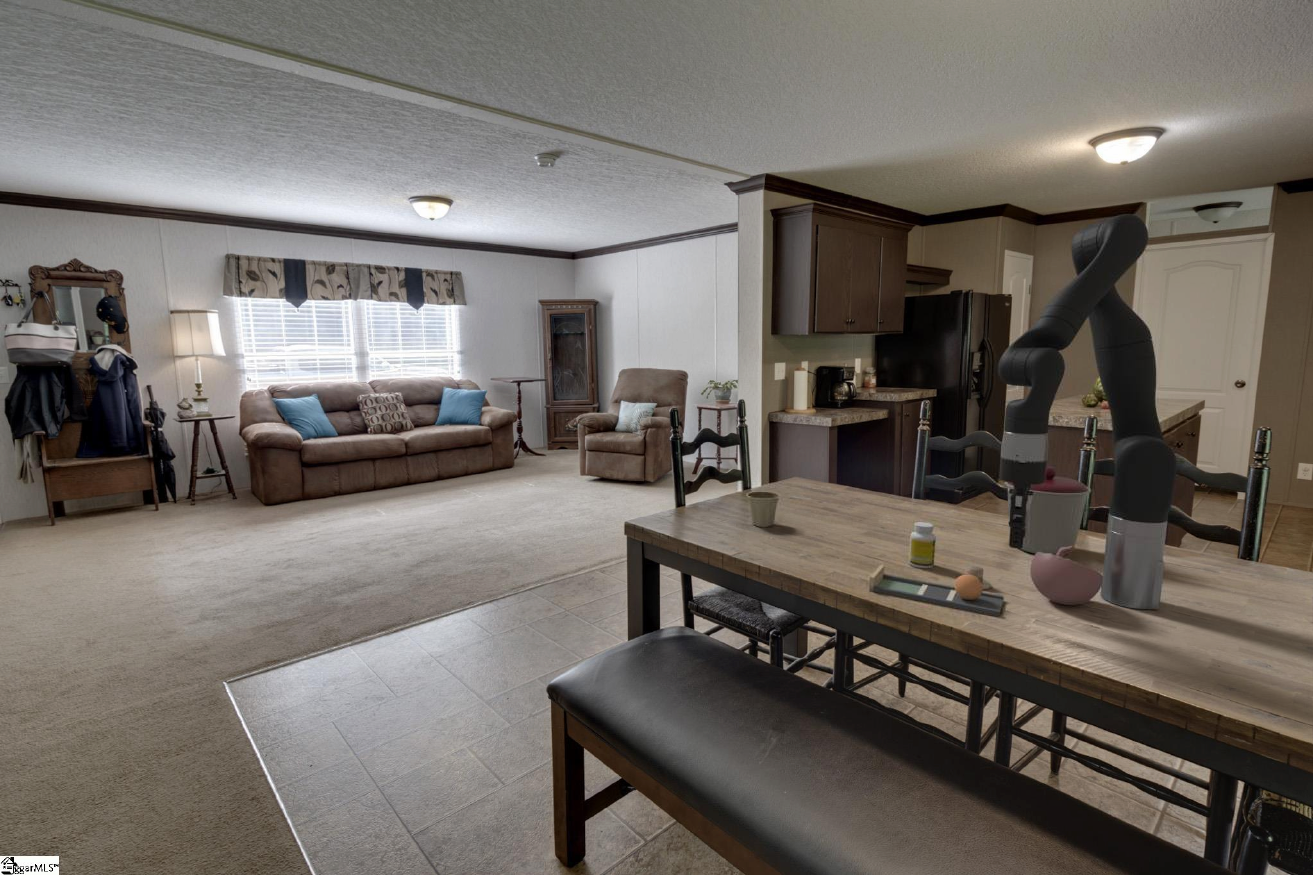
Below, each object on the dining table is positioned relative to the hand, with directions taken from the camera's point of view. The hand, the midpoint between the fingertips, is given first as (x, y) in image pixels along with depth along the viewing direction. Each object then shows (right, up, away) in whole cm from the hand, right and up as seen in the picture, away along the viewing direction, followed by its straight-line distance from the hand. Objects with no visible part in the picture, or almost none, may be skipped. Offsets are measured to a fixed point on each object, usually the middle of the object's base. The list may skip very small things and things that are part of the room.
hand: (1017, 542), depth 121 cm
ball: (-6, -10, +6) cm, 13 cm away
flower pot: (-38, -5, +62) cm, 73 cm away
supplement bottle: (-7, -10, +28) cm, 30 cm away
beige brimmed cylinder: (0, -12, +15) cm, 19 cm away
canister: (+28, -8, +39) cm, 48 cm away
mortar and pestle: (+12, -13, +6) cm, 19 cm away
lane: (-11, -12, +10) cm, 19 cm away
